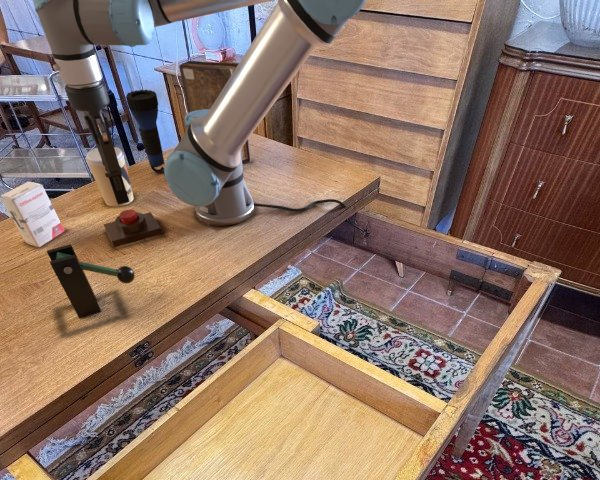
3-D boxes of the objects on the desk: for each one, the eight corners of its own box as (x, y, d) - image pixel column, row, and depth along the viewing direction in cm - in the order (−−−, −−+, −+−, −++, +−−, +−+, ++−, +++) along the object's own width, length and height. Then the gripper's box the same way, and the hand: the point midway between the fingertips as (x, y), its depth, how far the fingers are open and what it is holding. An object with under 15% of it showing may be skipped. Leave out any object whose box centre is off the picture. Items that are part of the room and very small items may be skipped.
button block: (153, 220, 114) (148, 204, 111) (163, 236, 109) (158, 220, 106) (106, 232, 111) (100, 217, 108) (114, 249, 106) (108, 234, 103)
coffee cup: (137, 205, 119) (123, 158, 110) (102, 210, 118) (84, 163, 109) (136, 189, 125) (121, 143, 116) (102, 194, 124) (85, 148, 114)
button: (136, 214, 109) (133, 208, 107) (140, 222, 107) (138, 215, 105) (119, 219, 108) (117, 212, 106) (123, 226, 105) (121, 219, 104)
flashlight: (179, 172, 132) (161, 93, 116) (156, 180, 128) (135, 101, 113) (164, 164, 136) (145, 87, 120) (142, 172, 132) (119, 94, 117)
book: (194, 161, 136) (175, 63, 117) (206, 153, 140) (190, 56, 121) (240, 171, 131) (228, 69, 112) (252, 161, 135) (242, 62, 116)
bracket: (114, 292, 95) (89, 233, 84) (124, 316, 90) (99, 256, 79) (56, 310, 91) (23, 250, 81) (64, 336, 86) (29, 276, 76)
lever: (129, 279, 91) (134, 264, 90) (134, 288, 90) (138, 273, 88) (53, 264, 82) (57, 247, 81) (56, 273, 80) (60, 256, 79)
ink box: (51, 226, 113) (28, 179, 104) (65, 231, 112) (43, 183, 102) (24, 243, 108) (-3, 195, 99) (38, 248, 107) (12, 199, 98)
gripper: (58, 76, 88) (101, 194, 106) (69, 95, 81) (113, 218, 99) (96, 70, 90) (132, 187, 108) (110, 88, 83) (146, 209, 101)
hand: (123, 201), depth 104 cm, fingers closed
